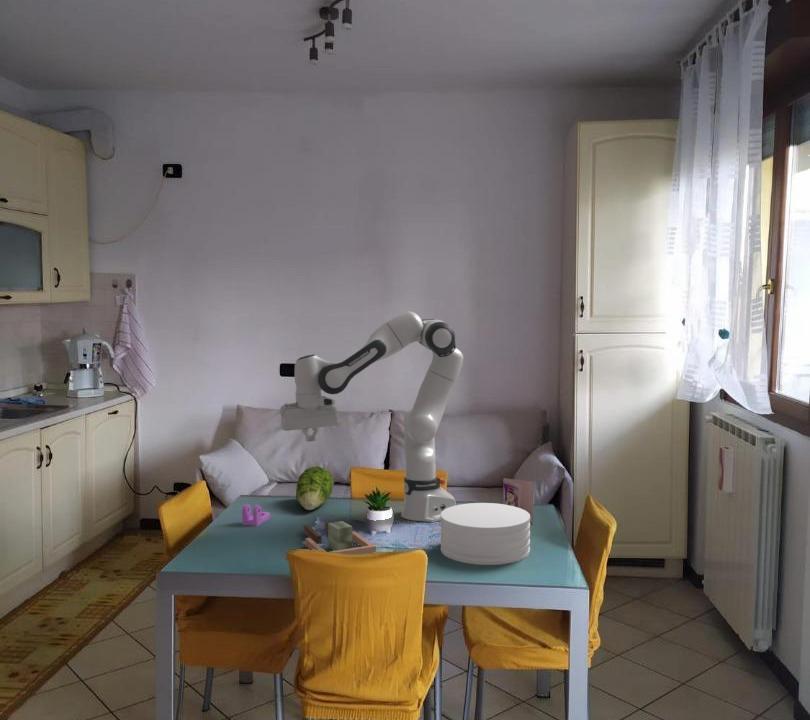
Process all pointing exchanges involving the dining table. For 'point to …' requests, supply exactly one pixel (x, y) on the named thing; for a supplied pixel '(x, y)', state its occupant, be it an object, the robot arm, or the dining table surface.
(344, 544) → the sage block
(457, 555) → the plate stack
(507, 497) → the greeting card
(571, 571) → the dining table surface
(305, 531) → the walnut chute
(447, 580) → the dining table surface
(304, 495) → the lettuce
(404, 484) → the robot arm
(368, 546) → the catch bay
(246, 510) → the bracket
